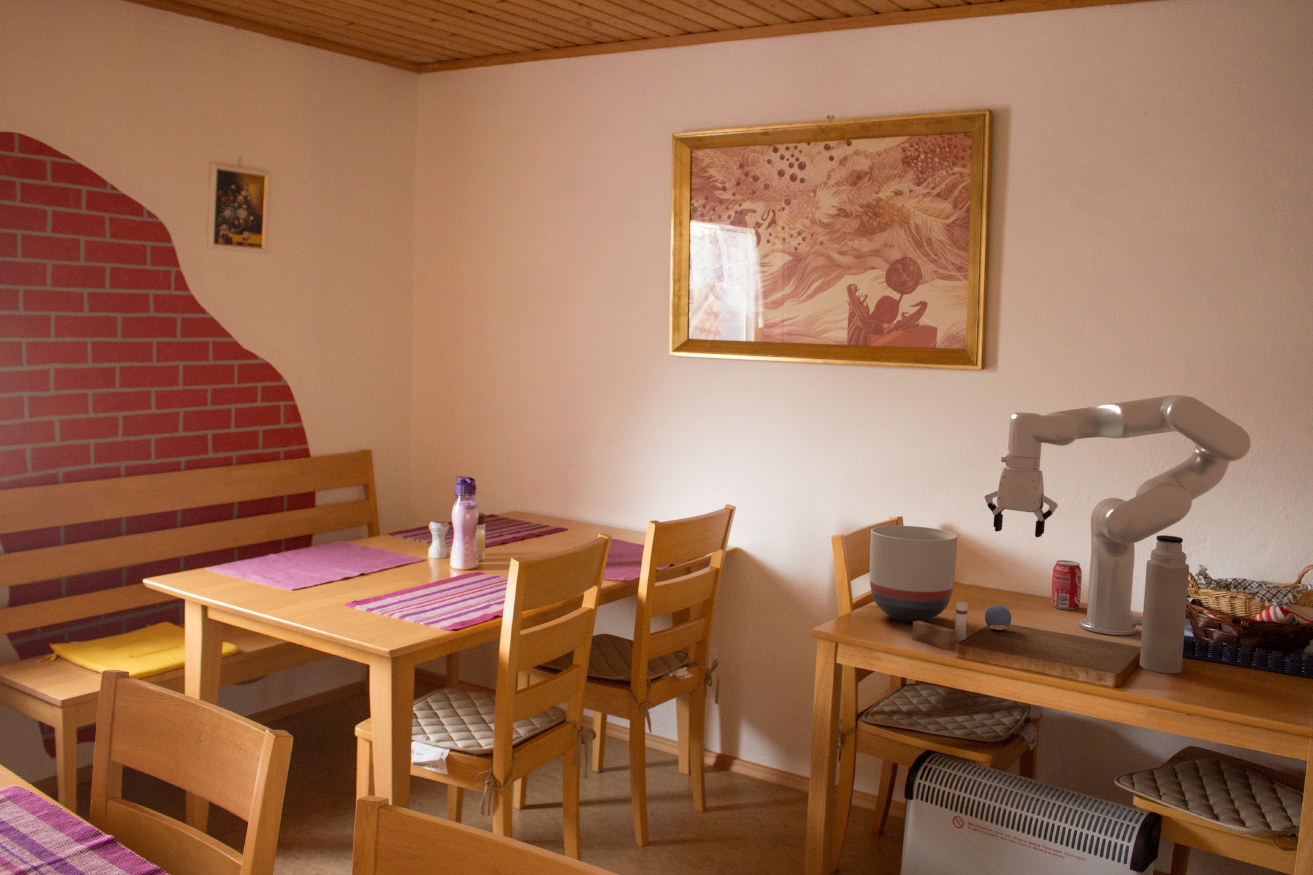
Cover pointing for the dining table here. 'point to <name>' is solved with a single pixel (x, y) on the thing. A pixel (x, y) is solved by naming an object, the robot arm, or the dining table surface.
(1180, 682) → the dining table surface
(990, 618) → the ball
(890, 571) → the planter
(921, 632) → the stopper bar
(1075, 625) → the dining table surface
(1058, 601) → the soda can
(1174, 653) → the thermos bottle
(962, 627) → the pin
